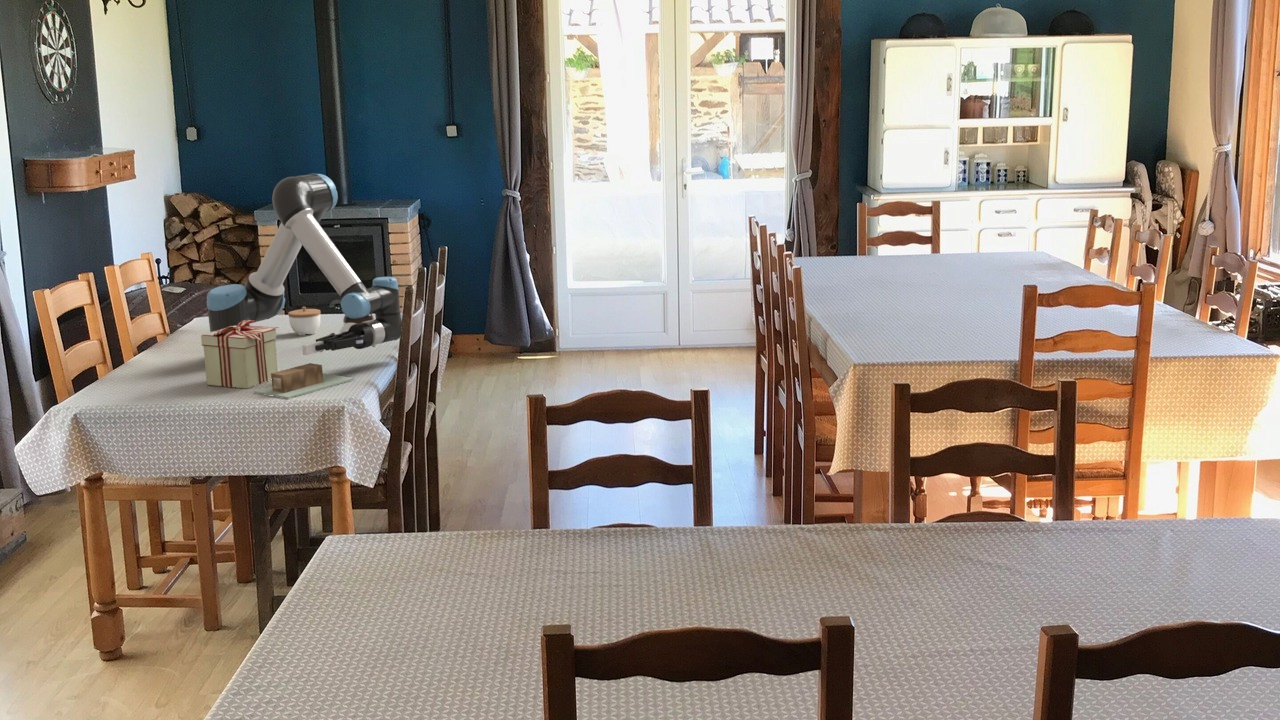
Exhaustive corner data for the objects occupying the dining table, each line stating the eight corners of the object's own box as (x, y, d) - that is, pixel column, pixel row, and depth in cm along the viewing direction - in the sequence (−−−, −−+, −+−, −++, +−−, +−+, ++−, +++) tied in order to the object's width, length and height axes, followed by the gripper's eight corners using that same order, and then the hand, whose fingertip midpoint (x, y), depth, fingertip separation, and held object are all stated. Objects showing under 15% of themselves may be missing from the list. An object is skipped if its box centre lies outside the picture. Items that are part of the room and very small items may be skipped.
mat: (320, 374, 360) (320, 373, 360) (353, 380, 352) (353, 378, 352) (254, 393, 341) (254, 391, 340) (288, 399, 333) (288, 397, 333)
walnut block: (309, 363, 350) (270, 373, 339) (321, 364, 348) (282, 375, 336) (311, 380, 351) (271, 391, 340) (323, 381, 349) (284, 393, 337)
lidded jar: (328, 332, 423) (326, 305, 421) (305, 338, 414) (302, 310, 412) (307, 329, 429) (304, 303, 427) (283, 335, 420) (281, 308, 418)
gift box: (260, 389, 344) (254, 330, 341) (203, 387, 349) (196, 328, 346) (292, 375, 360) (287, 318, 357) (237, 373, 365) (231, 316, 362)
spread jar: (374, 336, 413) (371, 302, 411) (378, 343, 403) (375, 308, 400) (337, 339, 410) (334, 305, 407) (340, 346, 399) (337, 311, 397)
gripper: (382, 349, 361) (321, 365, 342) (351, 344, 368) (289, 360, 349) (380, 324, 359) (319, 339, 340) (349, 320, 366) (287, 335, 347)
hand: (304, 350), depth 345 cm, fingers closed
